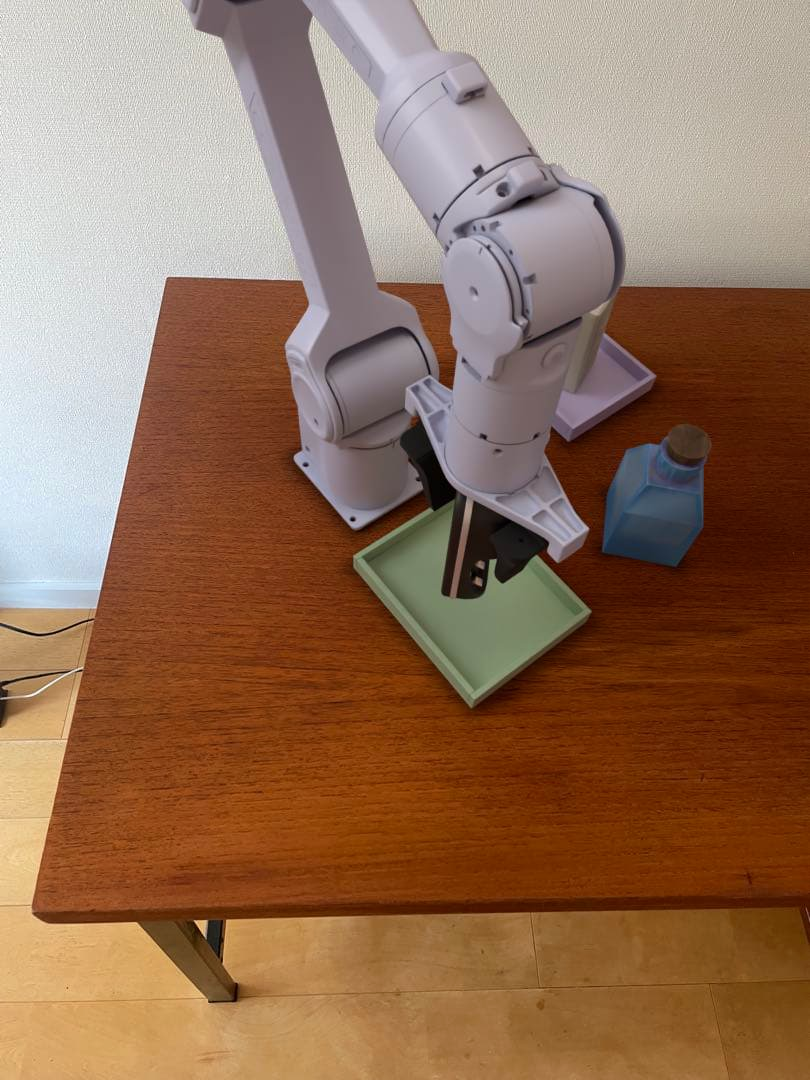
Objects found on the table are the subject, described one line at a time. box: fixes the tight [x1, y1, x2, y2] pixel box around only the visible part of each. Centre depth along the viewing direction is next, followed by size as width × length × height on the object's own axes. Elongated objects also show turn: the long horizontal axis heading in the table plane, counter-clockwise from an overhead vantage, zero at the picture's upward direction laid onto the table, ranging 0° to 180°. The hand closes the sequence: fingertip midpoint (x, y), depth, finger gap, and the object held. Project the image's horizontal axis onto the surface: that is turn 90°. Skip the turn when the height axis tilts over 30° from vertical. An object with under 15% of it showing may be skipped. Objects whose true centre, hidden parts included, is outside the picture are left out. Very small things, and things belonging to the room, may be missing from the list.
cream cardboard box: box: [563, 290, 619, 394], centre depth 73 cm, size 5×4×10 cm
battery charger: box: [441, 490, 512, 600], centre depth 53 cm, size 7×4×11 cm, turn 171°
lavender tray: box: [551, 332, 657, 443], centre depth 77 cm, size 13×11×2 cm
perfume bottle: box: [601, 423, 712, 568], centre depth 63 cm, size 6×6×12 cm
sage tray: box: [352, 499, 592, 709], centre depth 64 cm, size 15×12×2 cm
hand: (475, 537), depth 55 cm, fingers closed on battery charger, 6 cm apart
